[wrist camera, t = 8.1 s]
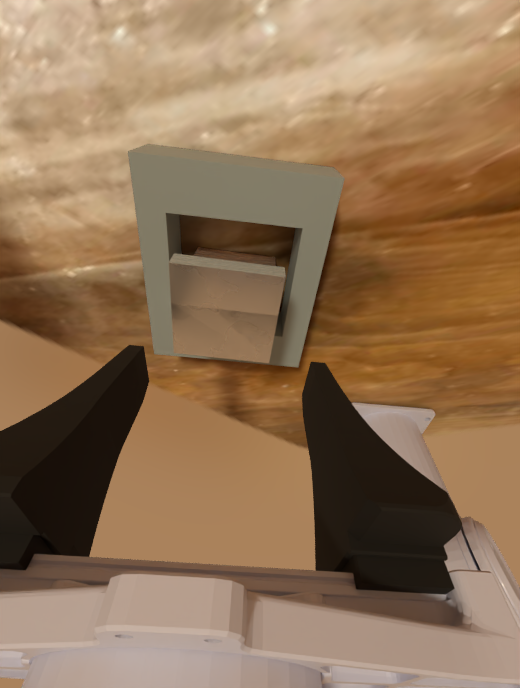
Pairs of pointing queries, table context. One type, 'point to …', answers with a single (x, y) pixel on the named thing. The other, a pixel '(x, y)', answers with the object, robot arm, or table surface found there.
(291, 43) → the table surface
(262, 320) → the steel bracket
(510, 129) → the table surface
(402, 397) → the table surface
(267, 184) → the well block
